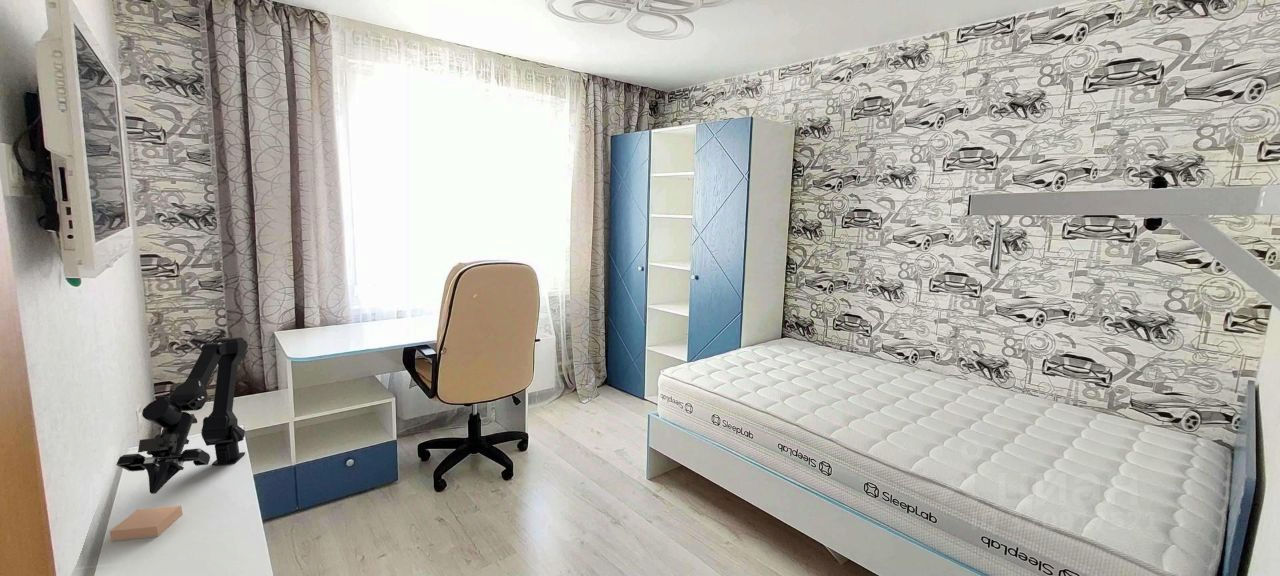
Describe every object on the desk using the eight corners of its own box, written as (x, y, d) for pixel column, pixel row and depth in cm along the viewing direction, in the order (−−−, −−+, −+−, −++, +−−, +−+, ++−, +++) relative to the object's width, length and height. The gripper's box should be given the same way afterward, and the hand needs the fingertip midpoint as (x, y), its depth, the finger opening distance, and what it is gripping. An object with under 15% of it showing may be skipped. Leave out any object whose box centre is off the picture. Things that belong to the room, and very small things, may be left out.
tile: (137, 509, 137) (109, 531, 129) (181, 505, 139) (156, 526, 130) (139, 520, 138) (111, 542, 129) (182, 515, 140) (158, 537, 131)
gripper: (114, 426, 137) (87, 488, 128) (196, 419, 140) (175, 480, 131) (142, 441, 146) (118, 500, 137) (219, 435, 149) (200, 492, 140)
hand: (152, 493), depth 136 cm, fingers closed
